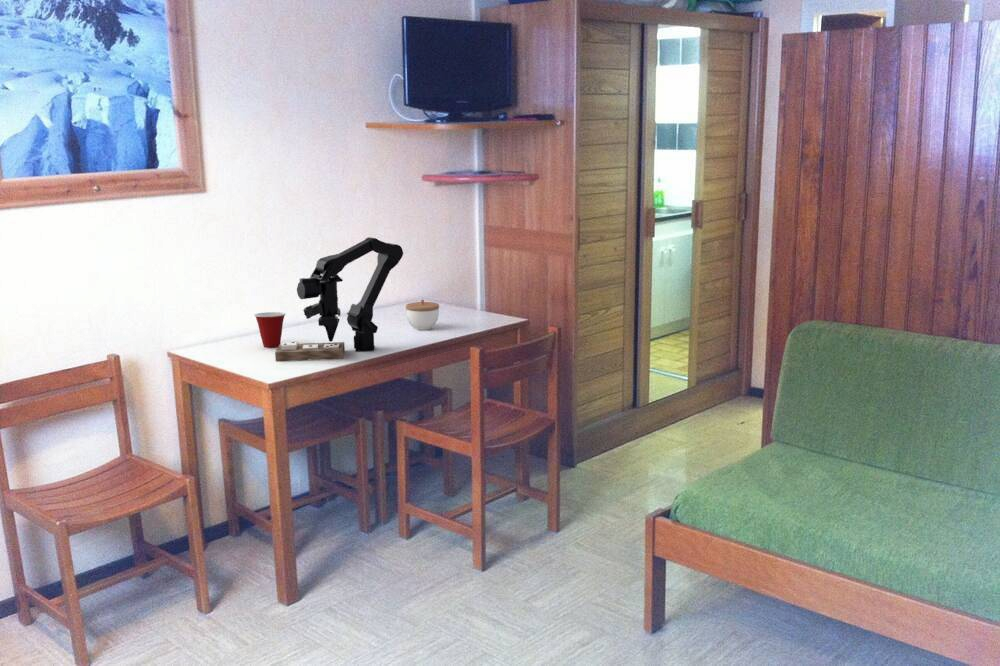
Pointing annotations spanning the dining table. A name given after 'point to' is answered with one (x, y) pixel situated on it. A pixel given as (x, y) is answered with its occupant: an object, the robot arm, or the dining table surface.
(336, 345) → the three dot key
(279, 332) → the plastic cup
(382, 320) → the dining table surface
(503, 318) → the dining table surface
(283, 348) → the two dot key
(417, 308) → the lidded bowl
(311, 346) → the one dot key
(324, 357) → the key panel
